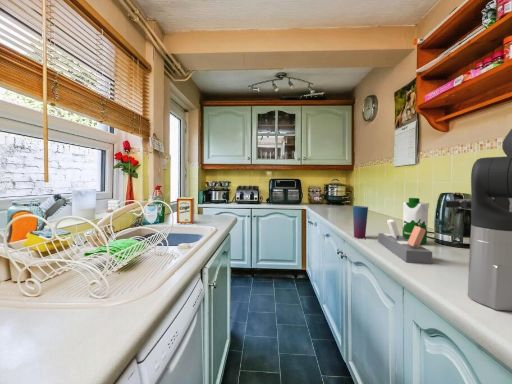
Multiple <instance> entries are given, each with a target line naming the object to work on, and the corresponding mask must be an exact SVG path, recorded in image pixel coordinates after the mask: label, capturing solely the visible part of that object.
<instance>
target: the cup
mask: <svg viewBox="0 0 512 384" xmlns="http://www.w3.org/2000/svg"><path fill="white" fill-rule="evenodd" d="M368 213H369V206H365V205H353V206H352V216H353V217H352V219H353V220H352V221H353V223H352V224H353V237H354V238H355V239H365V238H366V233H367V224H368V223H367V221H368Z"/></svg>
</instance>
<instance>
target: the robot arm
mask: <svg viewBox="0 0 512 384" xmlns="http://www.w3.org/2000/svg"><path fill="white" fill-rule="evenodd" d="M501 148H502V151H503V153H504V155H506V156H492V157H491V156H490V157H488V156H487V157H480V158H478V159H476V160H475V161H474V163H473V165H472V169H471V174H470V187H471V188H470V189H471V190H470V191H471V192H470V193H471V194H470V195H471V197H470V198H461V199H454V200H444V202H443V207H444V208H448V209H449V208H452V209H454V208H456V209H460V210H461V209H462V210H463V209H464V210H469V211H470V214H471V215H470V217H471V218H470V219H471V222H470V238H469V239H470V240H469V261H468V274H467V275H468V277H467V279H468V280H467V296H468V297H469V299H471V300H472V301H474V302H477V303H479V304H480V305H484V306H487V307H489V308H491V309H493V310H498V311H510V312H511V311H512V128H510V130H509V131H508V133H507V135H506V136H505V137H504V138H503V141H502V146H501Z"/></svg>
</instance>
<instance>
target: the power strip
mask: <svg viewBox="0 0 512 384" xmlns="http://www.w3.org/2000/svg"><path fill="white" fill-rule="evenodd" d="M377 234H378V237H377V239H378V240H377V242H378V244H380V245H381V246H383V247H384V248H385V249H387V250H388V251H390V252H391V253H392V254H394V255H395V256H397V257H398V258H399V259H401V260H402V261H403V262H404V263H408V264H410V263H411V264H428V265H429V264H431V265H432V264H433V251H431V250H429V248H426V247H424V246H422V245H419V247H418V248H415V247H413V246H411V245H409V244H408V243H407V242H408V239H406V238H405V237H403V235H402V234H400V238H397V239H396V238H394V237H392V235H391V232H390V233H388V232H387V233H381V232H379V233H377Z"/></svg>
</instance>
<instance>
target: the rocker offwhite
mask: <svg viewBox="0 0 512 384" xmlns="http://www.w3.org/2000/svg"><path fill="white" fill-rule="evenodd" d="M386 224H387V226H388V229H389V232H390V234H391V235H392V237H394V238H396V239H397V238H400V235H401V234H400V231H399V229H398V226H397V225H398V224H396V220H393V219H387V220H386Z"/></svg>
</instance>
